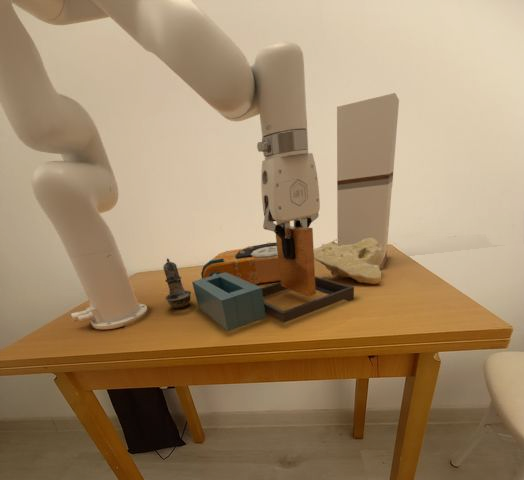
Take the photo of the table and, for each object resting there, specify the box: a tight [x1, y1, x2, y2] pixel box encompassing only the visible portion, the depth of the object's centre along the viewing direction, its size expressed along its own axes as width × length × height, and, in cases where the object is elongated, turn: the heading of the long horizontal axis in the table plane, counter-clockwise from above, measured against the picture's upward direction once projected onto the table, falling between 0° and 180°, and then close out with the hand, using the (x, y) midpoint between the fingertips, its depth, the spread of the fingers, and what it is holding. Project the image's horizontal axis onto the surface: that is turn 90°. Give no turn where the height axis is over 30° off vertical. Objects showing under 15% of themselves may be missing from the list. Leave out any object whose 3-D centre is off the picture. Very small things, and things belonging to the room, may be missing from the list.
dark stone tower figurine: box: [163, 257, 192, 310], centre depth 66 cm, size 6×6×12 cm
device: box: [200, 242, 281, 285], centre depth 83 cm, size 23×8×30 cm
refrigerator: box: [336, 92, 400, 270], centre depth 73 cm, size 11×11×35 cm
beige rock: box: [314, 238, 384, 285], centre depth 71 cm, size 15×7×15 cm
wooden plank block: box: [275, 225, 317, 297], centre depth 60 cm, size 10×2×12 cm, turn 31°
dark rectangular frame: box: [261, 275, 355, 323], centre depth 63 cm, size 18×16×3 cm
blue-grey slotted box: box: [191, 272, 267, 332], centre depth 61 cm, size 8×16×7 cm, turn 31°
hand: (294, 256), depth 59 cm, fingers closed on wooden plank block, 1 cm apart
